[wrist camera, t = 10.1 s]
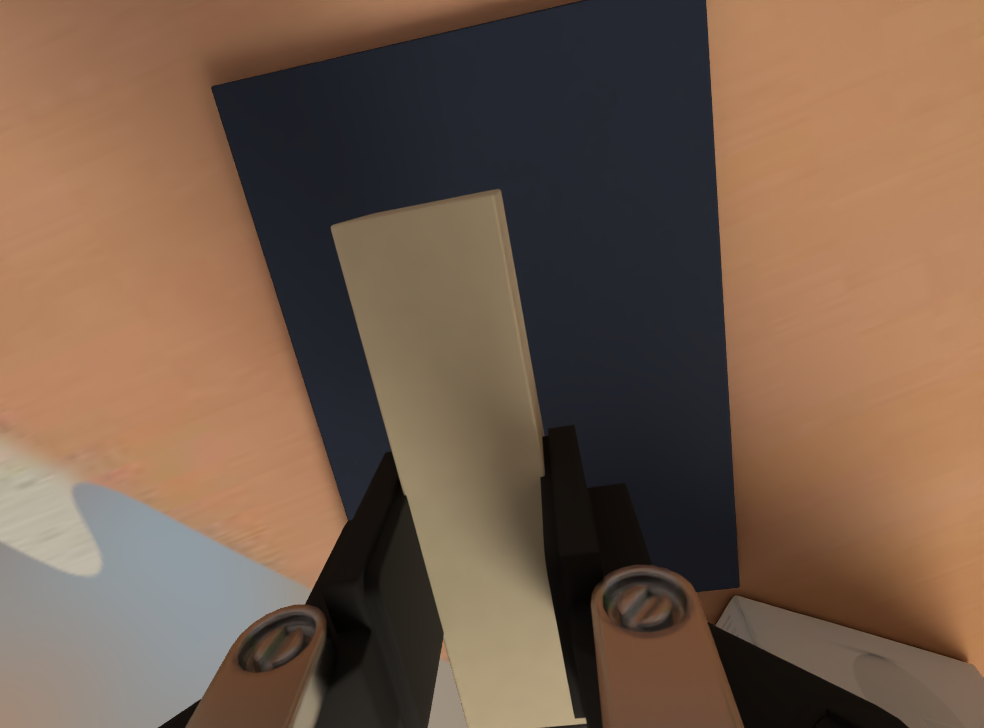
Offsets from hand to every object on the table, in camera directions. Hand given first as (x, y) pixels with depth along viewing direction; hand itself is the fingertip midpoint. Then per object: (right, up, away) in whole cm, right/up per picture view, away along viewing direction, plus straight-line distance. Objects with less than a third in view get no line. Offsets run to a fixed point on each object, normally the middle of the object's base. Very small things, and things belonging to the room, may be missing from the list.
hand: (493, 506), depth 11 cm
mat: (+1, +3, +8) cm, 8 cm away
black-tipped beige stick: (0, 0, +1) cm, 1 cm away
